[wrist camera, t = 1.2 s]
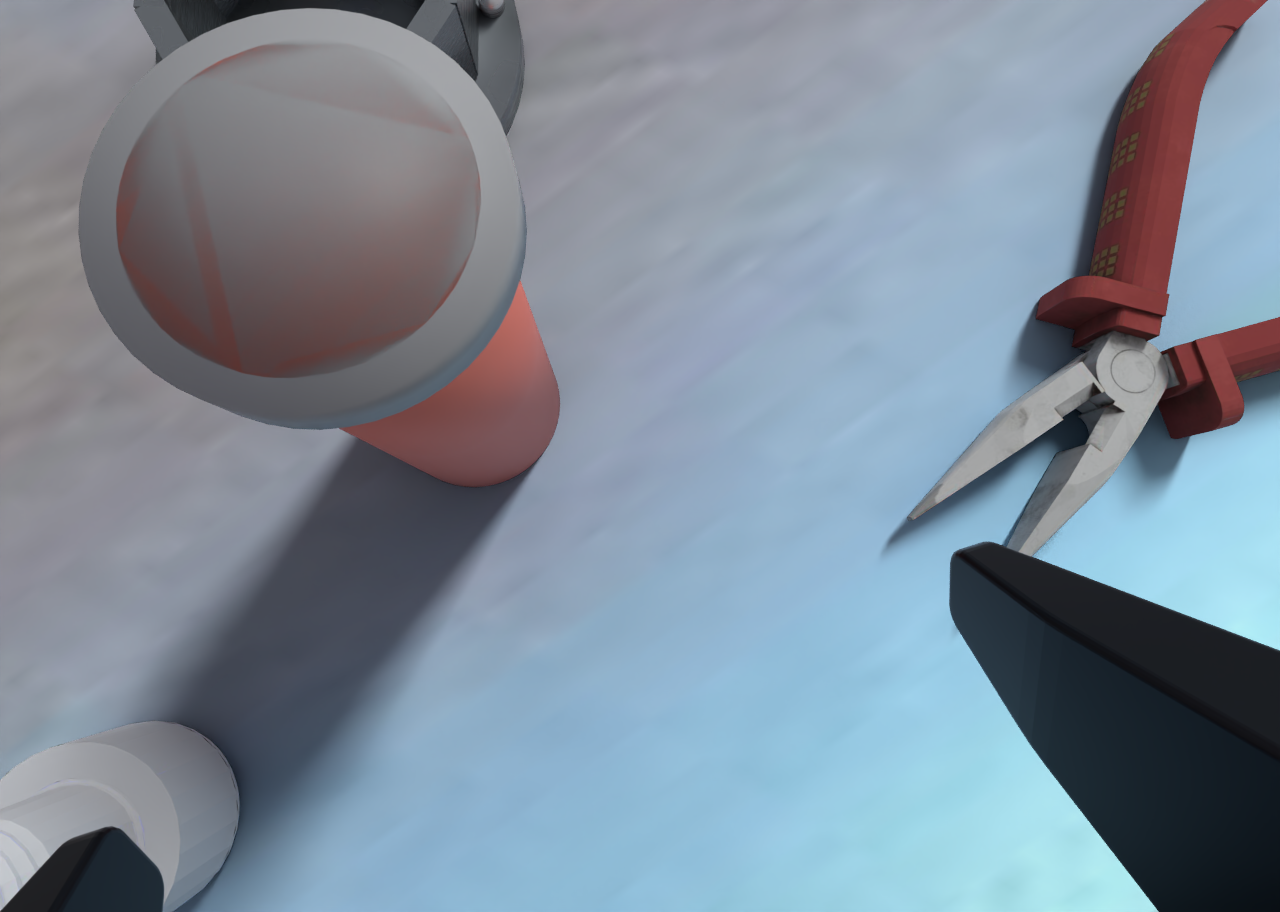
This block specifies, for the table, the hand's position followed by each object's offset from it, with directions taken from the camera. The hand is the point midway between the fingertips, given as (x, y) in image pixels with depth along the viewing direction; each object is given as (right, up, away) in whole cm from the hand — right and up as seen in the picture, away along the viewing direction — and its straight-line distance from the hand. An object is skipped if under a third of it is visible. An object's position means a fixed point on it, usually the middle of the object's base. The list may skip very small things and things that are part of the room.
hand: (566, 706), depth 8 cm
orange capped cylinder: (-4, +4, +15) cm, 16 cm away
